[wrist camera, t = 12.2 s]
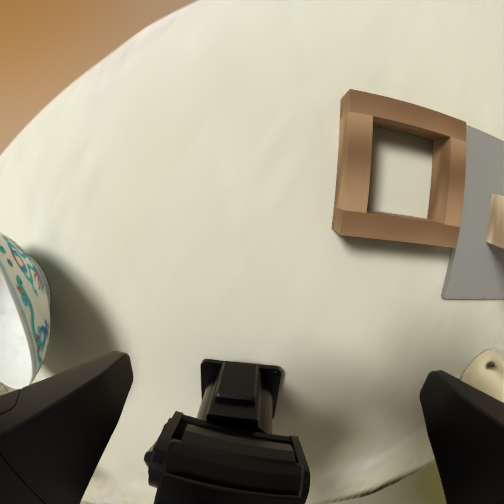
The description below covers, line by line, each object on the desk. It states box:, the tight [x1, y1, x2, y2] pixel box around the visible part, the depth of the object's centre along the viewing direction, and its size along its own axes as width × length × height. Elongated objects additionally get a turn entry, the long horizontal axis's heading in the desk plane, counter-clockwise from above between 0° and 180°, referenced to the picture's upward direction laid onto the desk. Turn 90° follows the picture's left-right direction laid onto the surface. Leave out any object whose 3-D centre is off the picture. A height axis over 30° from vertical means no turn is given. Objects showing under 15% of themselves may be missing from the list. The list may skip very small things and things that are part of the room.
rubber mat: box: [441, 125, 504, 299], centre depth 17 cm, size 14×11×1 cm
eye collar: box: [332, 89, 466, 248], centre depth 16 cm, size 9×9×2 cm
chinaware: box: [0, 233, 50, 389], centre depth 18 cm, size 15×15×8 cm
